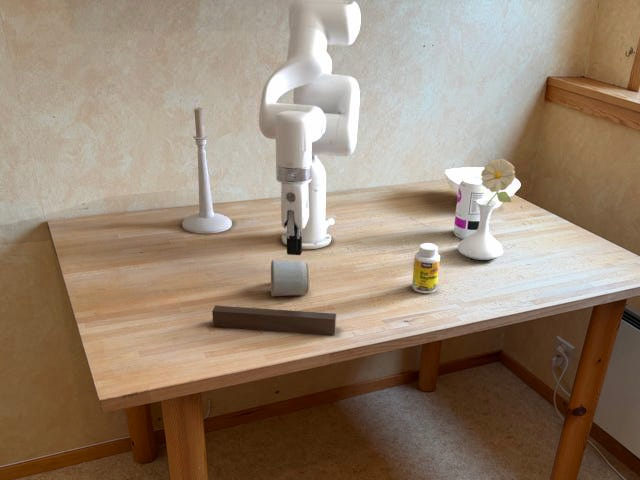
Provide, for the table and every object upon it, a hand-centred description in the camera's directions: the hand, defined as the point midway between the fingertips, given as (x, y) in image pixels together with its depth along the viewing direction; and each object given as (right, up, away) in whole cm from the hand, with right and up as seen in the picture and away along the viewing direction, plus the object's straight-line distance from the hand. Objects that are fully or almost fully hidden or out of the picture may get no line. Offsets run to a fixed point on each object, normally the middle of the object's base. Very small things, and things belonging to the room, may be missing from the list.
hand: (294, 253), depth 156 cm
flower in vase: (+45, +2, +17) cm, 48 cm away
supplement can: (+44, +9, +29) cm, 53 cm away
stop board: (-2, -18, -20) cm, 27 cm away
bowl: (+50, +22, +51) cm, 75 cm away
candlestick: (-26, +12, +27) cm, 39 cm away
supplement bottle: (+29, -8, -1) cm, 31 cm away
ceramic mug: (-1, -9, -5) cm, 11 cm away
